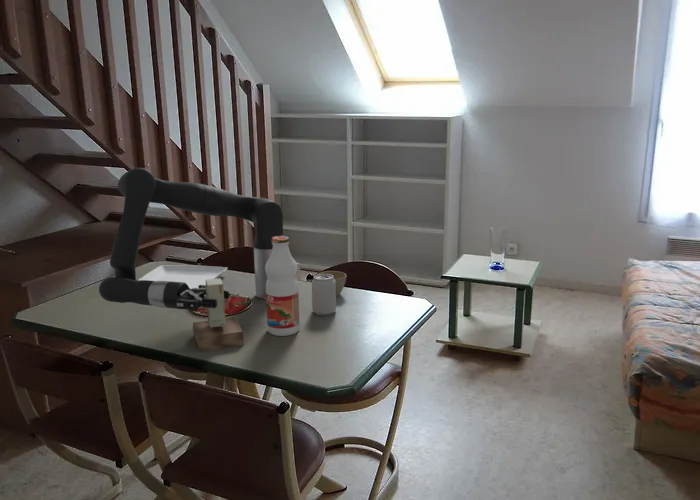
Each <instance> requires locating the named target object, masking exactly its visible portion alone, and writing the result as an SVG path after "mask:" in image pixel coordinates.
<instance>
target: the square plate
mask: <svg viewBox="0 0 700 500" xmlns="http://www.w3.org/2000/svg"><path fill="white" fill-rule="evenodd" d="M227 270H228V267H227V266H226V267H225V266H224V267H223V266H210V265H197V264H196V265H193V264H189V265H188V264H182V265H181V264H178V265H177V264H175V265H174V264H171V265H169V264H167V265H165V264H164V265H162V264H161V265H159V266H157V267H156V268H154V269H152V270H151V271H149V272H148V273H146V274H145V275H142V277H140V278H138V280H149V281H172V282H184V283H186V284H187V285H188V287H189V288H190V289H192V288H199V287H198V286H199V285H206V280H207V279H219V278H220V277H221V276H223V274H224V273H225V271H227Z"/></svg>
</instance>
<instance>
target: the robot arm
mask: <svg viewBox="0 0 700 500" xmlns="http://www.w3.org/2000/svg"><path fill="white" fill-rule="evenodd" d="M117 189H118V191H119V193H120V194H121V195H122V196H123V197H124V204H123V205H124V206H123V211H122V216H121V219H120V222H119V224H118V228H117V231H116V233H115V236H114V240H113V244H112V248H111V254H110V259H109V264H110V267H111V268H113V270H114V272H115V274H114V275H115V276H110V277H107V278H105V279H103V280H102V281H101V282H100V284H99V287H98V293H99V295H100V297H101V298H102V299H103V300H105V301H107V302H112V303H120V304H126V303H130V304H131V303H132V304H137V305H142V306H153V307H158V308H166V309H167V308H168V309H176V310H186V311H187V310H189V311H198V310H199V309H203V308H207V307H208V308H216V307H217V301H216V300H214V299H207V295H206V285H199V286H198V287H199V288H192V289H190V288H189V287H188V285H187V284H186V283H184V282H172V281H149V280H139V279H137V276H136V262H137V258H138V253H139V248H140V247H139V246H140V242H141V236H142V230H143V226H144V222H145V218H146V214H147V212H148V211H147V210H148V208H149V205H150V203H153V204H161V205H165V206H169V207H173V208H175V209H180V210H183V211H187V212H191V213H196V214H201V215H205V216H213V217H235V218H239V219H242V220H246V221H248V222H251V223H254V224H256V236H255V237H254V238H253V240H252V241H253V244H252V245H253V256H254V257H253V260H254V263H253V264H254V279H255V280H254V283H255V284H254V285H255V286H254V287H255V297H257V298H259V299H264V300H266V281H267V275H266V271H265V266H266V263H267V261H268V260H269V258H270V255H271V252H272V248H273V244H272V237H275V236H284V215H283V214H284V213H283V210H282V207H281V205H280V204H279V203H278V202H276V201H274V200H271V199H269V198H267V197H266V198H265V197H256V196H247V195H240V194H237V193H233V192H231V191H228V190H225V189H222V188H220V187H217V186H212V185H208V184H204V183H198V182H188V181H187V182H186V181H171V180H163V179H160V178H156V177H155V175H153V173H152V172H151V171H150V170H149V169H148V168H147V169H146V168H145V167H135V168H132V169H130V170H128V171H126V172H124V173H123V174H122V175H121V177H120V178H119V179H118V182H117ZM229 298H230V291H229V290H224V300H226V299H229Z"/></svg>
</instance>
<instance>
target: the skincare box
mask: <svg viewBox="0 0 700 500" xmlns="http://www.w3.org/2000/svg"><path fill="white" fill-rule="evenodd" d="M206 295H207V299H214V300H216V301H217V307H216V308H208V307H206V309H207V319H208V320H207V321H209V325H210V327H218V326H226V320H225V318H226V308H225V307H226V306H225V299H224V282H223V279H221V278H220V277H219V278H217V279H207V280H206ZM206 295H205V296H206Z"/></svg>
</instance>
